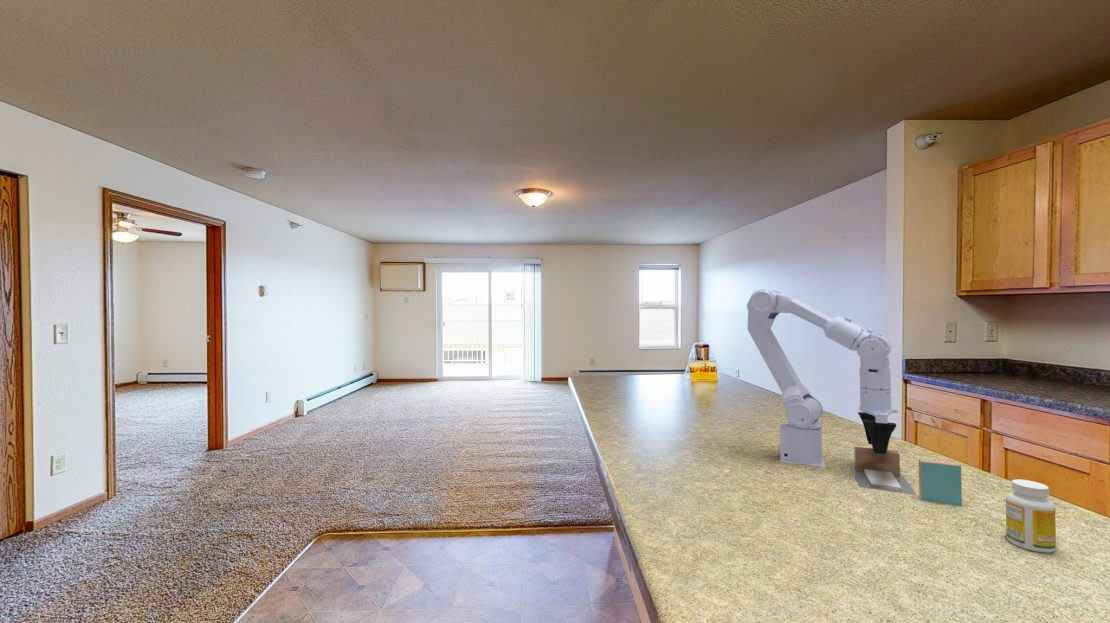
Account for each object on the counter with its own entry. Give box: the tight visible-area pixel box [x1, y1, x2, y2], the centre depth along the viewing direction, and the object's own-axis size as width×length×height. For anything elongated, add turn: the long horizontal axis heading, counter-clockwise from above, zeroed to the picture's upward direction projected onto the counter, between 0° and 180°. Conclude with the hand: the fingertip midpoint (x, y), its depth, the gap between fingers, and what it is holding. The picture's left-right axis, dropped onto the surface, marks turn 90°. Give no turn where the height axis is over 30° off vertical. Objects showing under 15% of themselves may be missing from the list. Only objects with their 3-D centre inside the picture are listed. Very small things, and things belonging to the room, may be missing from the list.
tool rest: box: [850, 466, 917, 496], centre depth 97 cm, size 10×14×1 cm
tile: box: [918, 458, 963, 507], centre depth 86 cm, size 6×2×8 cm, turn 63°
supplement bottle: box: [1005, 478, 1057, 554], centre depth 70 cm, size 5×5×10 cm
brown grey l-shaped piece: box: [853, 446, 902, 492], centre depth 97 cm, size 8×12×5 cm, turn 153°
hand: (876, 448), depth 101 cm, fingers open, 7 cm apart
